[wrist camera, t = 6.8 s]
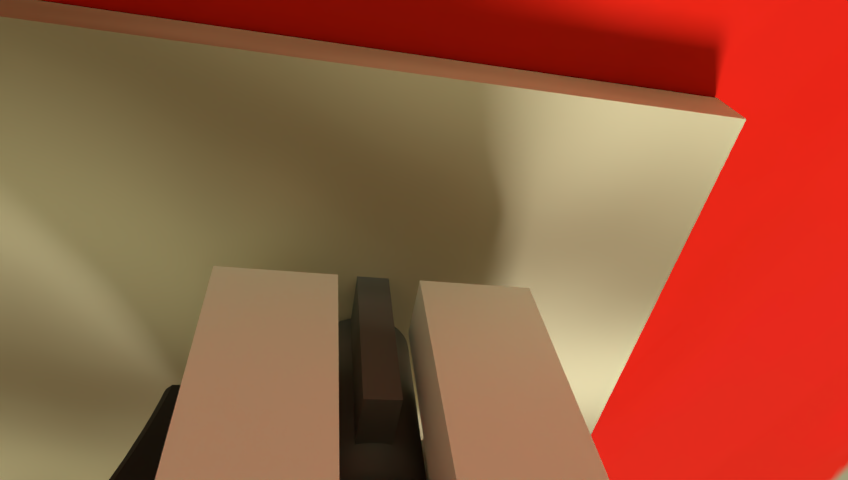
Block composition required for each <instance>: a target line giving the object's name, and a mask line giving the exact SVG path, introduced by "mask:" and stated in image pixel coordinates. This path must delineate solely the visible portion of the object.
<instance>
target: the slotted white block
mask: <svg viewBox="0 0 848 480" xmlns="http://www.w3.org/2000/svg"><path fill="white" fill-rule="evenodd" d="M408 333H409V340H410V347H411V354H412V361H413V368H414V375H415V382H416V389H417V396H418V403H419V410H420V417H421V424H422V431H423V440H421V443H422V451H423V458H424V465H425V472H426V479H427V480H609V478H608V475H607V473H606V471H605V468H604V466H603V463H602V461H601V459H600V456H599V454H598V451H597V449H596V447H595V444H594V442H593V439H592V437H591V435H590V432H589V430H588V427H587V425H586V423H585V420H584V418H583V415H582V413H581V411H580V408H579V406H578V403H577V401H576V399H575V396H574V394H573V391H572V389H571V387H570V384H569V382H568V379H567V377H566V375H565V372H564V370H563V367H562V365H561V363H560V360H559V358H558V355H557V353H556V351H555V348H554V346H553V343H552V341H551V339H550V336H549V334H548V331H547V329H546V327H545V324H544V322H543V319H542V317H541V315H540V312H539V310H538V307H537V305H536V303H535V300H534V298H533V295H532V293H531V291H530V288H521V287H507V286H493V285H478V284H464V283H450V282H435V281H421V280H420V282H419V286H418V291H417V295H416V300H415V304H414V309H413V314H412V318H411V323H410V327H409V332H408ZM155 480H339V347H338V275H336V274H321V273H307V272H293V271H279V270H264V269H250V268H236V267H221V266H213V269H212V273H211V276H210V280H209V283H208V287H207V291H206V294H205V298H204V302H203V305H202V309H201V313H200V316H199V320H198V324H197V327H196V331H195V335H194V338H193V342H192V346H191V349H190V353H189V357H188V360H187V364H186V367H185V371H184V375H183V378H182V382H181V386H180V389H179V393H178V397H177V400H176V404H175V408H174V411H173V415H172V419H171V422H170V426H169V430H168V433H167V437H166V440H165V444H164V448H163V451H162V455H161V459H160V462H159V466H158V470H157V473H156V477H155Z"/></svg>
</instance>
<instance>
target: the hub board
mask: <svg viewBox="0 0 848 480" xmlns="http://www.w3.org/2000/svg"><path fill="white" fill-rule="evenodd" d="M745 121H746V119H745V118H744V117H742V116H741V115H740V114H738V113H737V112H736V111H734V110H733V109H731V108H730V107H729V106H727V105H726V104H725V103H723V102H722V101H720V100H719V99H718V98H714V97H707V96H700V95H693V94H686V93H679V92H672V91H665V90H658V89H651V88H644V87H637V86H630V85H623V84H616V83H609V82H602V81H595V80H589V79H582V78H575V77H568V76H561V75H554V74H547V73H540V72H533V71H526V70H519V69H512V68H505V67H498V66H491V65H484V64H477V63H470V62H463V61H457V60H450V59H443V58H436V57H429V56H422V55H415V54H408V53H401V52H394V51H387V50H380V49H373V48H366V47H359V46H352V45H345V44H338V43H332V42H325V41H318V40H311V39H304V38H297V37H290V36H283V35H276V34H269V33H262V32H255V31H248V30H241V29H234V28H227V27H220V26H213V25H207V24H200V23H193V22H186V21H179V20H172V19H165V18H158V17H151V16H144V15H137V14H130V13H123V12H116V11H109V10H102V9H95V8H88V7H82V6H75V5H68V4H61V3H54V2H47V1H40V0H0V480H109V479H110V478H111V476H112V475H113V473H114V472H115V470H116V469H117V468H118V466H119V465H120V463H121V462H122V461H123V459H124V458H125V456H126V455H127V453H128V451H129V450H130V448H131V447H132V445H133V444H134V442H135V441H136V439H137V438H138V436H139V435H140V433H141V431H142V430H143V428H144V427H145V425H146V423H147V422H148V420H149V418H150V417H151V415H152V413H153V411H154V410H155V408H156V406H157V404H158V403H159V401H160V399H161V397H162V395H163V393H164V391H165V389H167V388H168V387H170V386H171V385H181V382H182V378H183V375H184V371H185V367H186V364H187V360H188V357H189V353H190V349H191V346H192V342H193V338H194V335H195V331H196V327H197V324H198V320H199V316H200V313H201V309H202V305H203V302H204V298H205V294H206V291H207V287H208V283H209V280H210V276H211V273H212V269H213V266H221V267H236V268H250V269H264V270H279V271H293V272H307V273H321V274H336V275H338V347H339V480H427V479H426V472H425V465H424V458H423V451H422V443H421V440H423V431H422V424H421V417H420V410H419V403H418V396H417V389H416V382H415V375H414V368H413V361H412V354H411V347H410V340H409V333H408V332H409V327H410V323H411V318H412V314H413V309H414V304H415V300H416V295H417V291H418V286H419V282H420V280H421V281H435V282H450V283H464V284H478V285H493V286H507V287H521V288H530V291H531V293H532V295H533V298H534V300H535V303H536V305H537V307H538V310H539V312H540V315H541V317H542V319H543V322H544V324H545V327H546V329H547V331H548V334H549V336H550V339H551V341H552V343H553V346H554V348H555V351H556V353H557V355H558V358H559V360H560V363H561V365H562V367H563V370H564V372H565V375H566V377H567V379H568V382H569V384H570V387H571V389H572V391H573V394H574V396H575V399H576V401H577V403H578V406H579V408H580V411H581V413H582V415H583V418H584V420H585V423H586V425H587V427H588V430H589V432H590V435H591V433H592V431H593V429H594V427H595V425H596V423H597V421H598V419H599V417H600V415H601V413H602V411H603V409H604V407H605V405H606V403H607V401H608V399H609V397H610V395H611V393H612V391H613V389H614V387H615V385H616V383H617V381H618V378H619V376H620V374H621V372H622V370H623V368H624V366H625V364H626V362H627V360H628V358H629V356H630V354H631V352H632V350H633V348H634V346H635V344H636V342H637V340H638V338H639V336H640V334H641V332H642V330H643V328H644V326H645V324H646V322H647V320H648V318H649V316H650V314H651V312H652V309H653V307H654V305H655V303H656V301H657V299H658V297H659V295H660V293H661V291H662V289H663V287H664V285H665V283H666V281H667V279H668V277H669V275H670V273H671V271H672V269H673V267H674V265H675V263H676V261H677V259H678V257H679V255H680V253H681V251H682V249H683V247H684V245H685V242H686V240H687V238H688V236H689V234H690V232H691V230H692V228H693V226H694V224H695V222H696V220H697V218H698V216H699V214H700V212H701V210H702V208H703V206H704V204H705V202H706V200H707V198H708V196H709V194H710V192H711V190H712V188H713V186H714V184H715V182H716V180H717V178H718V175H719V173H720V171H721V169H722V167H723V165H724V163H725V161H726V159H727V157H728V155H729V153H730V151H731V149H732V147H733V145H734V143H735V141H736V139H737V137H738V135H739V133H740V131H741V129H742V127H743V125H744V123H745Z"/></svg>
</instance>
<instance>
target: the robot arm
mask: <svg viewBox="0 0 848 480" xmlns="http://www.w3.org/2000/svg"><path fill="white" fill-rule="evenodd" d="M180 386H181V385H171V386H170V387H168V388H167V389H165V391H164V393H163V395H162V397H161V399H160V401H159V403H158V404H157V406H156V408H155V410H154V411H153V413H152V415H151V417H150V418H149V420H148V422H147V423H146V425H145V427H144V428H143V430H142V431H141V433H140V435H139V436H138V438H137V439H136V441H135V442H134V444H133V445H132V447H131V448H130V450H129V451H128V453H127V455H126V456H125V458H124V459H123V461H122V462H121V463H120V465H119V466H118V468H117V469H116V470H115V472H114V473H113V475H112V476H111V478H110V479H109V480H155V477H156V473H157V470H158V466H159V462H160V459H161V455H162V451H163V448H164V444H165V440H166V437H167V433H168V430H169V426H170V422H171V419H172V415H173V411H174V408H175V404H176V400H177V397H178V393H179V389H180Z"/></svg>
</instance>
